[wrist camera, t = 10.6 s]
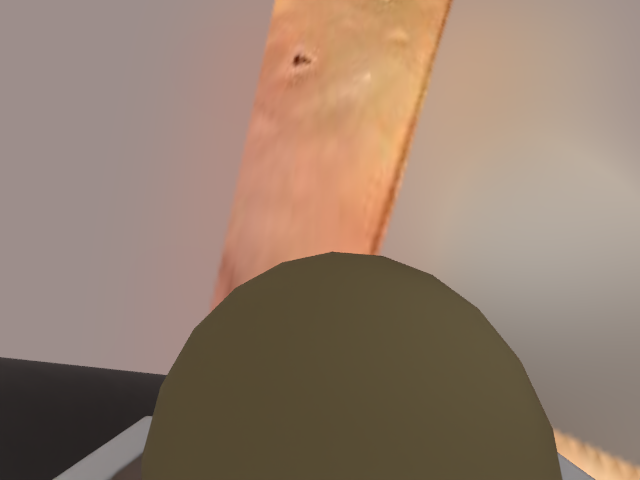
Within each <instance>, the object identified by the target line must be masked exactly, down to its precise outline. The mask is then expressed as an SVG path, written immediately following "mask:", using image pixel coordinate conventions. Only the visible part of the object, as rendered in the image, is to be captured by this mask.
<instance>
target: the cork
mask: <svg viewBox="0 0 640 480" xmlns="http://www.w3.org/2000/svg"><path fill="white" fill-rule="evenodd" d="M141 480H563V479H562V474H561V469H560V464H559V459H558V454H557V449H556V444H555V438H554V433H553V428H552V426H551V424H550V422H549V420H548V418H547V416H546V414H545V411H544V409H543V407H542V405H541V403H540V401H539V399H538V397H537V395H536V392H535V390H534V388H533V386H532V384H531V382H530V380H529V377H528V375H527V373H526V371H525V369H524V367H523V365H522V363H521V361H520V360H519V358H518V357H517V356H516V354H515V353H514V352H513V351H512V350H511V348H510V347H509V346H508V344H507V343H506V342H505V341H504V340H503V338H502V337H501V336H500V335H499V333H498V332H497V331H496V330H495V328H494V327H493V326H492V325H491V324H490V322H489V321H488V320H487V319H486V317H485V316H484V315H483V314H482V313H481V311H480V310H479V309H478V308H477V307H475V306H474V305H473V304H471V303H470V302H468V301H467V300H466V299H464V298H463V297H462V296H460V295H459V294H457V293H456V292H455V291H453V290H452V289H451V288H449V287H448V286H446V285H445V284H444V283H442V282H441V281H440V280H438V279H437V278H436V277H434V276H433V275H431V274H428V273H426V272H423V271H420V270H418V269H415V268H413V267H410V266H407V265H405V264H402V263H400V262H397V261H394V260H391V259H389V258H386V257H384V256H376V255H364V254H352V253H339V252H330V253H325V254H320V255H315V256H311V257H306V258H301V259H296V260H292V261H287V262H282V263H281V264H279V265H277V266H275V267H273V268H271V269H270V270H268V271H266V272H264V273H262V274H260V275H259V276H257V277H255V278H253V279H251V280H249V281H248V282H246V283H244V284H242V285H240V286H238V287H237V288H235V289H234V290H233V291H232V292H231V293H230V294H229V295H228V296H227V297H226V298H225V299H224V300H223V301H222V302H221V303H220V304H219V305H218V306H217V307H216V308H215V309H214V310H213V311H212V312H211V313H210V314H209V315H208V316H207V317H206V318H205V319H204V320H203V321H202V322H201V323H200V324H199V325H198V326H197V327H196V328H195V329H194V330H193V331H192V333H191V335H190V337H189V338H188V340H187V342H186V344H185V346H184V347H183V349H182V351H181V352H180V354H179V356H178V357H177V359H176V361H175V363H174V364H173V366H172V368H171V370H170V371H169V373H168V375H167V377H166V378H165V380H164V382H163V383H162V385H161V388H160V391H159V395H158V399H157V402H156V406H155V410H154V413H153V417H152V421H151V425H150V428H149V432H148V436H147V439H146V443H145V447H144V451H143V454H142V458H141Z"/></svg>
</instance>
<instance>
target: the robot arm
mask: <svg viewBox="0 0 640 480" xmlns="http://www.w3.org/2000/svg"><path fill="white" fill-rule="evenodd" d="M152 417H153V416H146V417H144V418H143V419H141V420H140V421H138V422H137V423H135V424H134V425H132V426H131V427H129V428H128V429H127V430H125V431H124V432H122V433H121V434H119V435H118V436H116V437H115V438H113V439H112V440H110V441H109V442H107V443H106V444H105V445H103V446H102V447H100V448H99V449H97V450H96V451H94V452H93V453H91V454H90V455H88V456H87V457H85V458H84V459H82V460H81V461H80V462H78V463H77V464H75V465H74V466H72V467H71V468H69V469H68V470H66V471H65V472H63V473H62V474H60V475H59V476H57V477H56V478H55V479H53V480H141V458H142V454H143V451H144V447H145V443H146V439H147V436H148V432H149V428H150V425H151V421H152ZM557 454H558V459H559V464H560V469H561V474H562V479H563V480H595V479H594V478H592V477H591V476H590V475H588V474H587V473H585V472H584V471H583V470H581V469H580V468H578V467H577V466H576V465H574V464H573V463H571V462H570V461H569V460H567V459H566V458H565V457H563V456H562V455H560V454H559V453H558V452H557Z"/></svg>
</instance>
